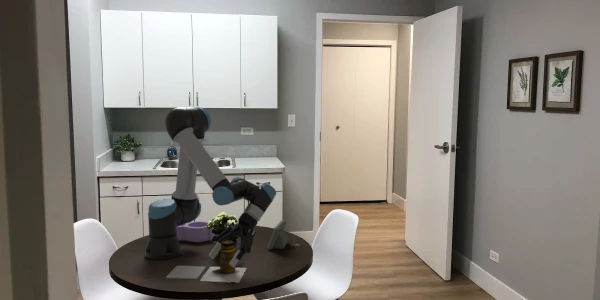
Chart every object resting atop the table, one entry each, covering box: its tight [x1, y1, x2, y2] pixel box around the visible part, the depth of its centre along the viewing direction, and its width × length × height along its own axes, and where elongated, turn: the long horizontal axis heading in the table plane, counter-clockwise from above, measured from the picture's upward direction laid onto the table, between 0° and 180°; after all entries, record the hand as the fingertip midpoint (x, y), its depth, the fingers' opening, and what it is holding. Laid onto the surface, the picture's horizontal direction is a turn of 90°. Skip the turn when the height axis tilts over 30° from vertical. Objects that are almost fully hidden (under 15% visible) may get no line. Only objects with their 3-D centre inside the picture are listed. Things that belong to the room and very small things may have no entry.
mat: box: [165, 265, 207, 280], centre depth 185 cm, size 12×12×1 cm
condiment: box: [212, 239, 239, 276], centre depth 186 cm, size 7×8×12 cm
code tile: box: [199, 266, 248, 284], centre depth 184 cm, size 15×15×1 cm
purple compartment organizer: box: [177, 220, 216, 243], centre depth 230 cm, size 20×12×7 cm, turn 92°
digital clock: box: [266, 219, 289, 250], centre depth 220 cm, size 16×9×11 cm, turn 157°
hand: (220, 261), depth 185 cm, fingers open, 13 cm apart
